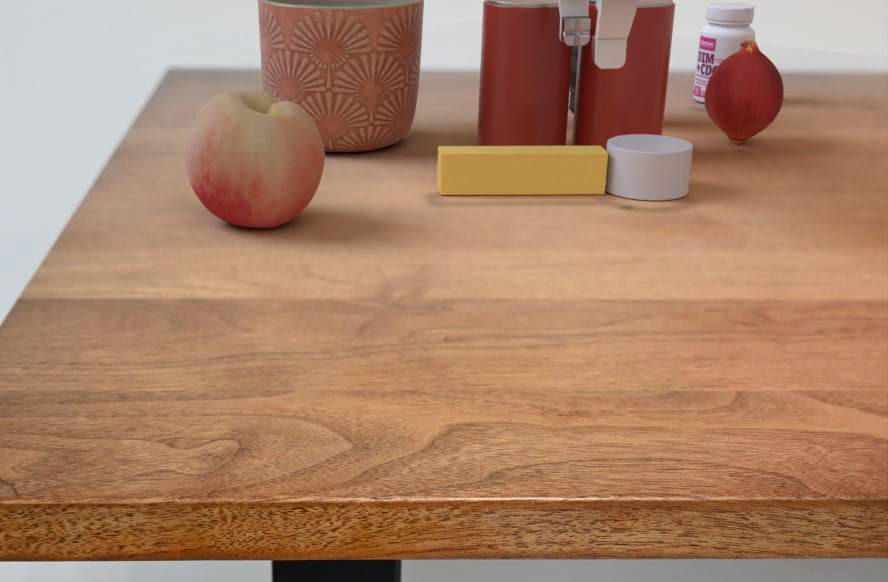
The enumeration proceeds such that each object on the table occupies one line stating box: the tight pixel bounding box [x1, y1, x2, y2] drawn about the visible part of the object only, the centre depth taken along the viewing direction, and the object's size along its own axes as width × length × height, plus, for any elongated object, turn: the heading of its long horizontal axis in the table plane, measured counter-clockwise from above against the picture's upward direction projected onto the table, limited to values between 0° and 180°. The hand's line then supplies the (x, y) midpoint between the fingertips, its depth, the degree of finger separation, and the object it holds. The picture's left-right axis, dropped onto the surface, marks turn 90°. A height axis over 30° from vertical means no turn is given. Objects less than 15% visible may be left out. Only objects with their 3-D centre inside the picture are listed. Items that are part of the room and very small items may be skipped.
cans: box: [476, 0, 676, 150], centre depth 92 cm, size 14×7×11 cm, turn 92°
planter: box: [257, 0, 425, 153], centre depth 95 cm, size 12×12×11 cm
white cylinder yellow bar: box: [436, 134, 694, 202], centre depth 84 cm, size 17×6×3 cm, turn 92°
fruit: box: [184, 87, 326, 229], centre depth 75 cm, size 8×8×8 cm
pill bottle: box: [692, 2, 756, 104], centre depth 112 cm, size 5×5×8 cm
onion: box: [704, 39, 785, 145], centre depth 96 cm, size 6×6×8 cm
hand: (590, 55), depth 81 cm, fingers open, 8 cm apart
